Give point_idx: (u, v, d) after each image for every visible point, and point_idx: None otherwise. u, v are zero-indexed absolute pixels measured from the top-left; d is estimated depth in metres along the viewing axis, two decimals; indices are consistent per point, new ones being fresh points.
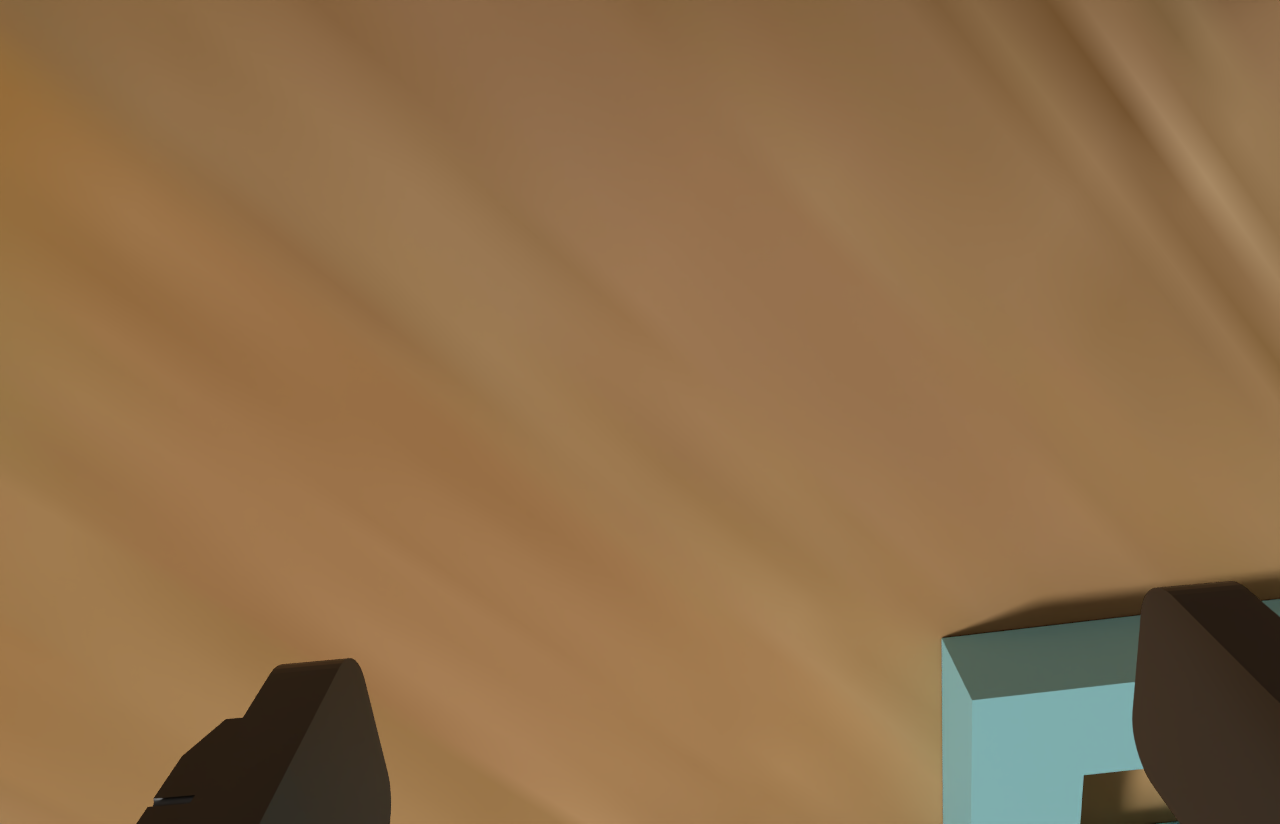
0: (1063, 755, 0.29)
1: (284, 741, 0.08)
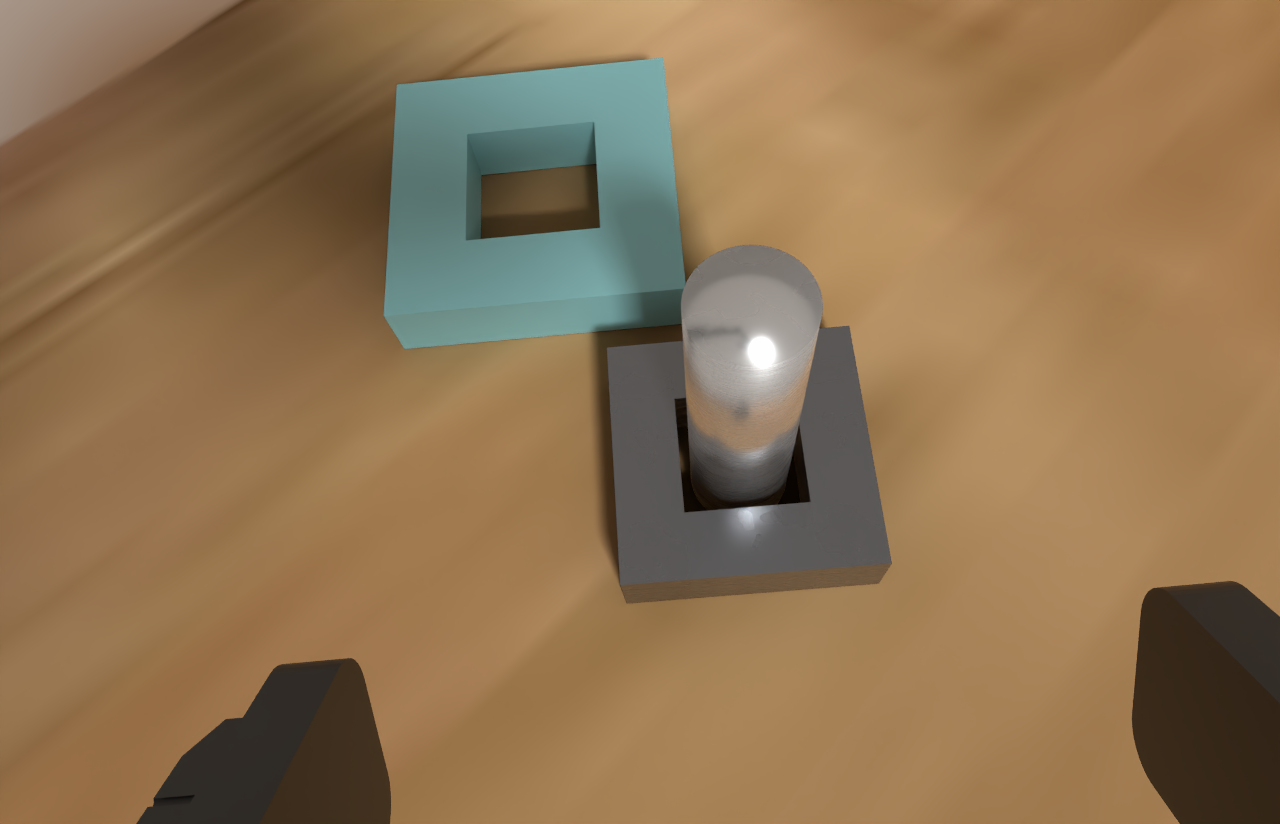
0: (445, 255, 0.41)
1: (284, 741, 0.08)
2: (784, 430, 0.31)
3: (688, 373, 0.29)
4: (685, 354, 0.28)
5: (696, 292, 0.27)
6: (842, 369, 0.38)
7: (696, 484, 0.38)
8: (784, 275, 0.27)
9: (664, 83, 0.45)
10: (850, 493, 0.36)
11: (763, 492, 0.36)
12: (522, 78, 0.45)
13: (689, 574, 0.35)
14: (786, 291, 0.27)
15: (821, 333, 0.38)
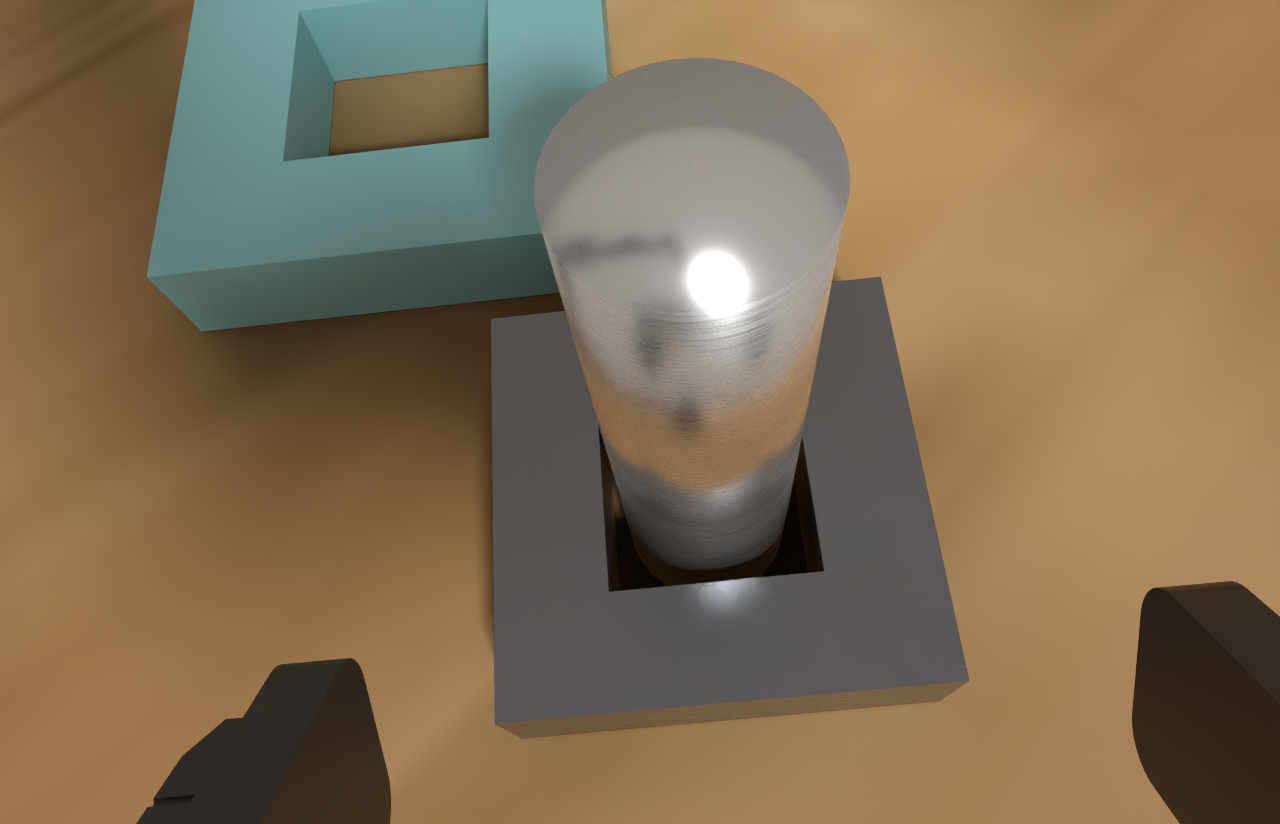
0: (249, 183, 0.27)
1: (284, 741, 0.08)
2: (773, 452, 0.16)
3: (574, 341, 0.14)
4: None
5: (569, 156, 0.12)
6: (871, 346, 0.23)
7: (634, 539, 0.23)
8: (763, 115, 0.12)
9: None
10: (892, 556, 0.21)
11: (743, 554, 0.21)
12: None
13: (615, 703, 0.20)
14: (766, 149, 0.12)
15: (836, 289, 0.24)
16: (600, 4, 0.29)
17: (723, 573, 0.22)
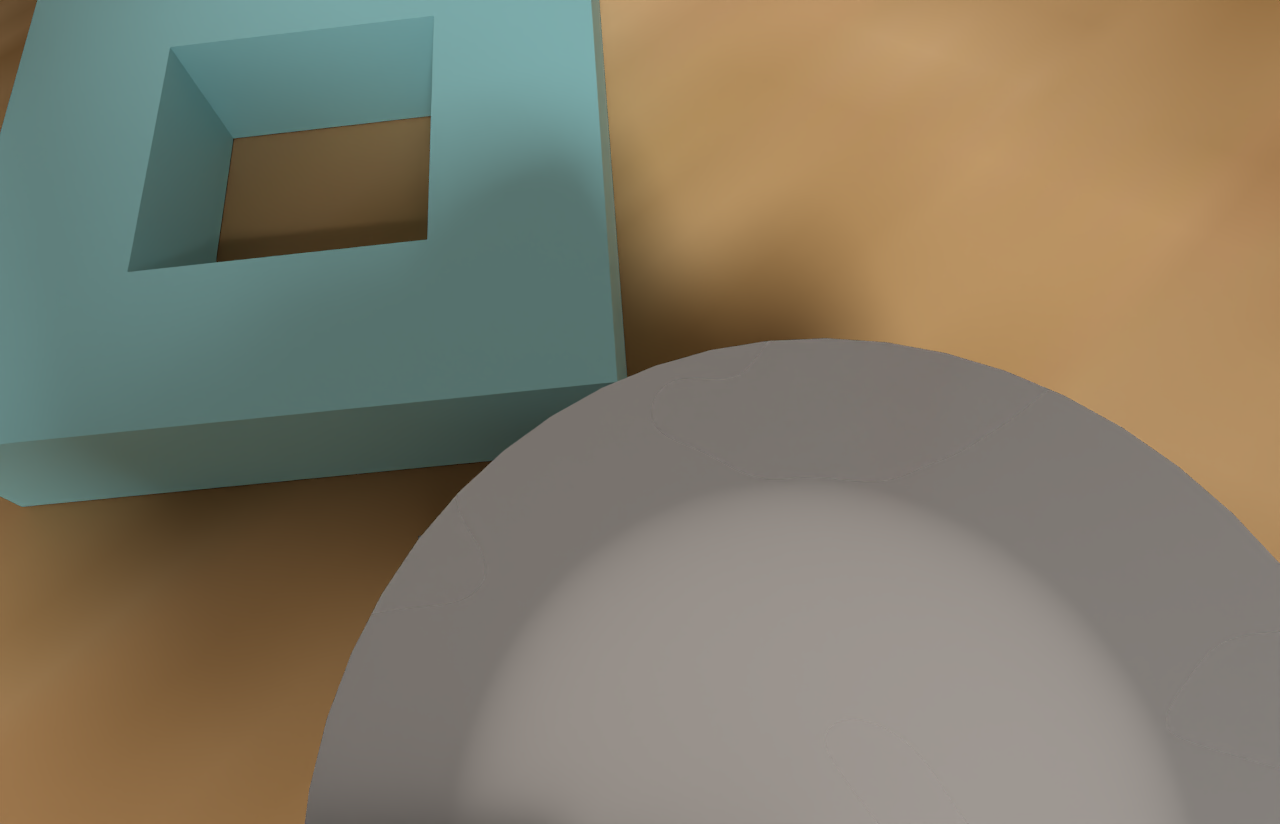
0: (76, 305, 0.18)
1: None
2: None
3: None
4: None
5: (431, 701, 0.04)
6: None
7: None
8: (1069, 568, 0.04)
9: None
10: None
11: None
12: None
13: None
14: (1103, 713, 0.03)
15: None
16: (592, 40, 0.20)
17: None
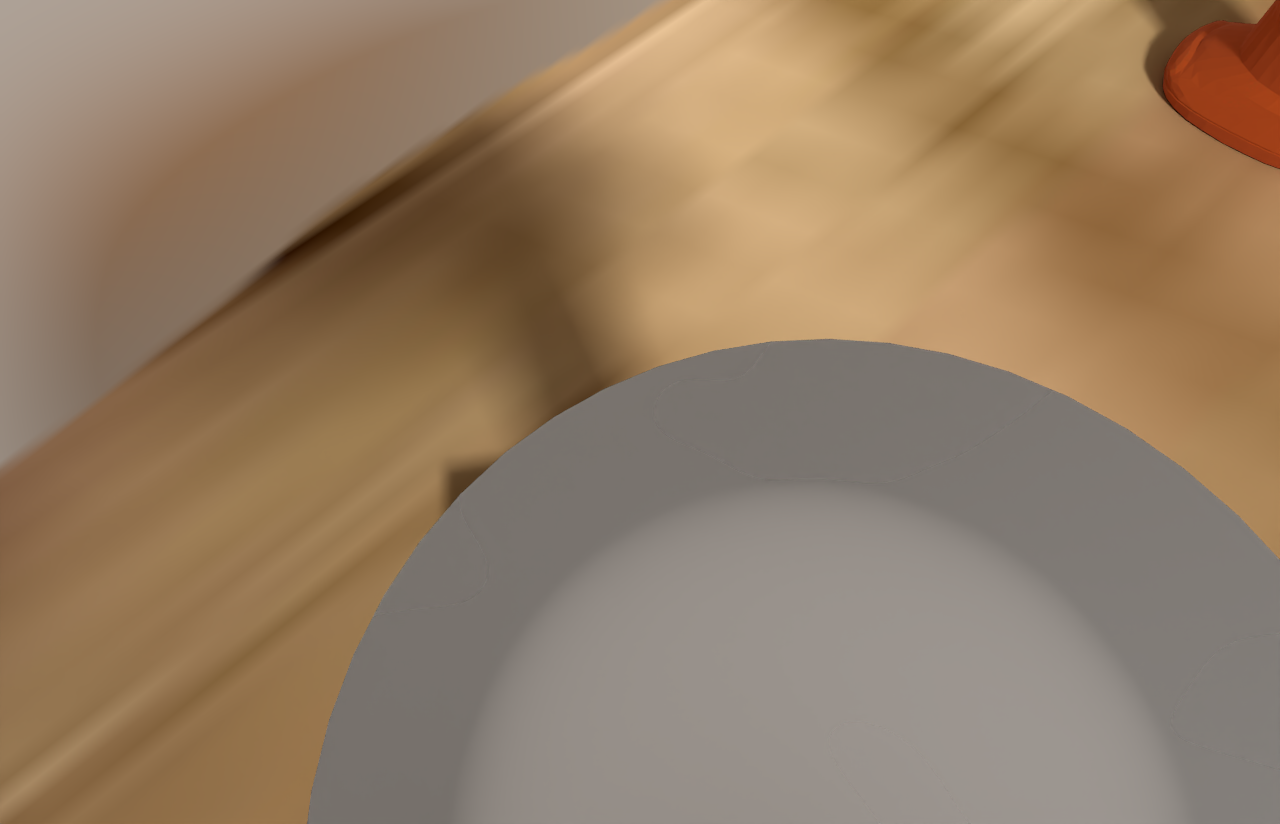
0: None
1: None
2: None
3: None
4: None
5: (433, 703, 0.04)
6: None
7: None
8: (1073, 569, 0.04)
9: None
10: None
11: None
12: None
13: None
14: (1107, 714, 0.03)
15: None
16: None
17: None
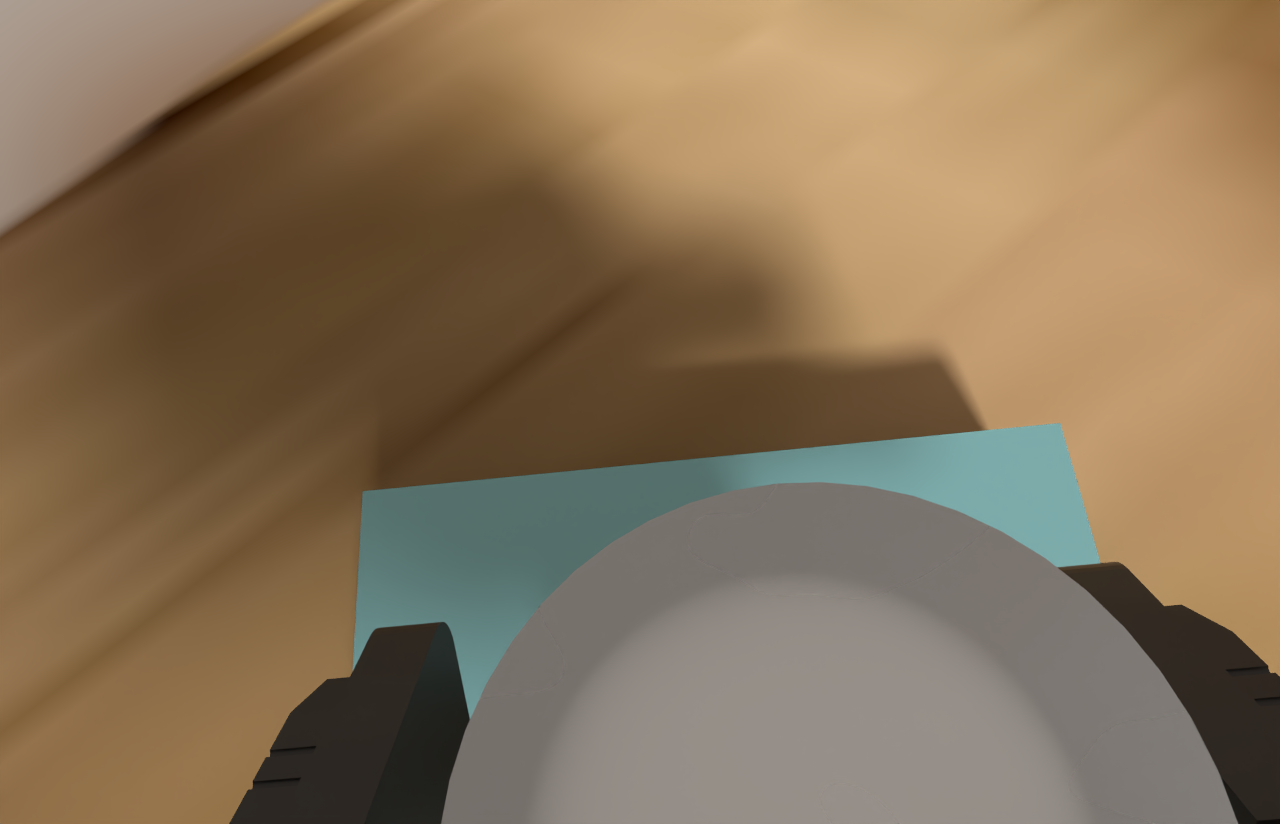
0: None
1: (395, 695, 0.09)
2: None
3: None
4: None
5: (527, 768, 0.05)
6: None
7: None
8: (1002, 668, 0.05)
9: (1080, 506, 0.17)
10: None
11: None
12: (689, 479, 0.17)
13: None
14: (1022, 780, 0.05)
15: None
16: None
17: None
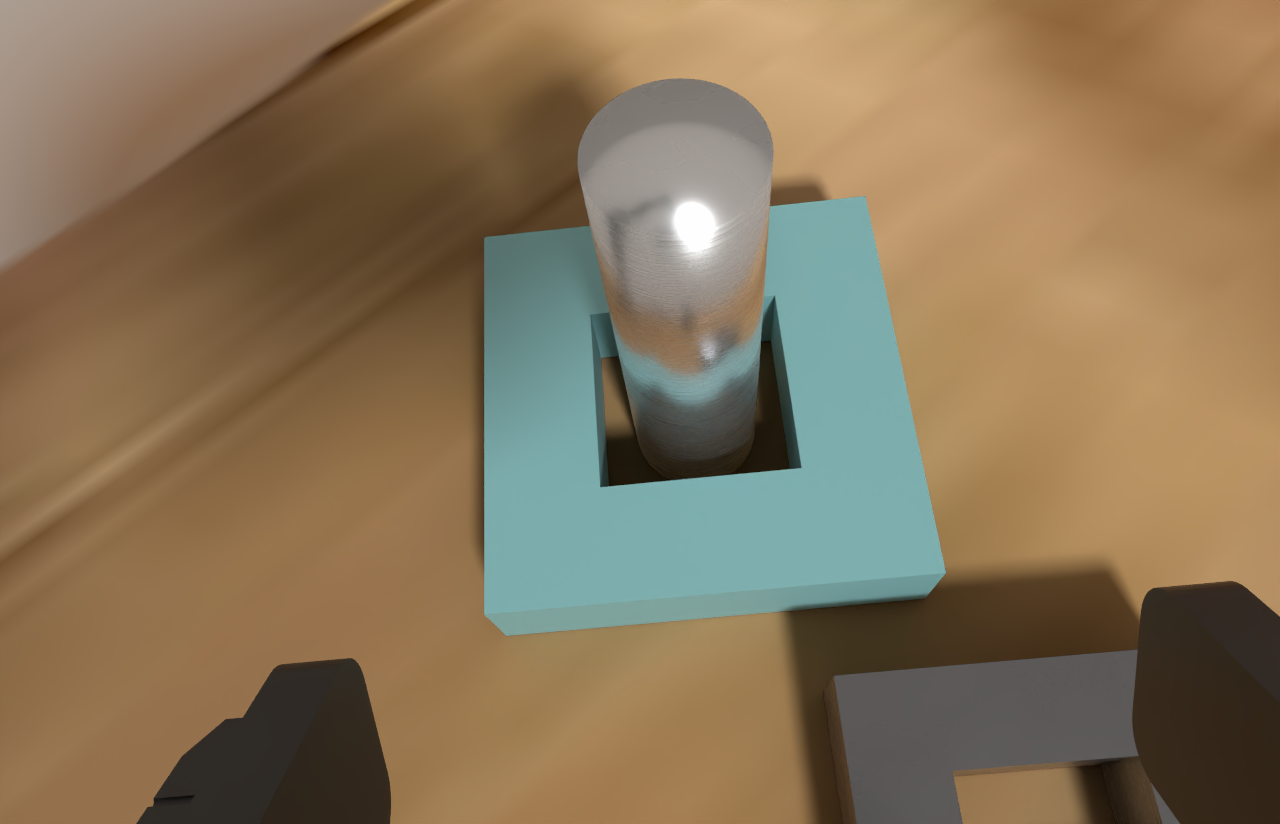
0: (571, 511, 0.28)
1: (285, 741, 0.08)
2: (736, 348, 0.23)
3: (600, 265, 0.22)
4: (592, 235, 0.21)
5: (599, 140, 0.19)
6: None
7: (640, 437, 0.30)
8: (721, 115, 0.19)
9: (871, 235, 0.31)
10: None
11: (720, 441, 0.28)
12: None
13: None
14: (723, 136, 0.19)
15: None
16: (890, 318, 0.30)
17: (706, 459, 0.29)
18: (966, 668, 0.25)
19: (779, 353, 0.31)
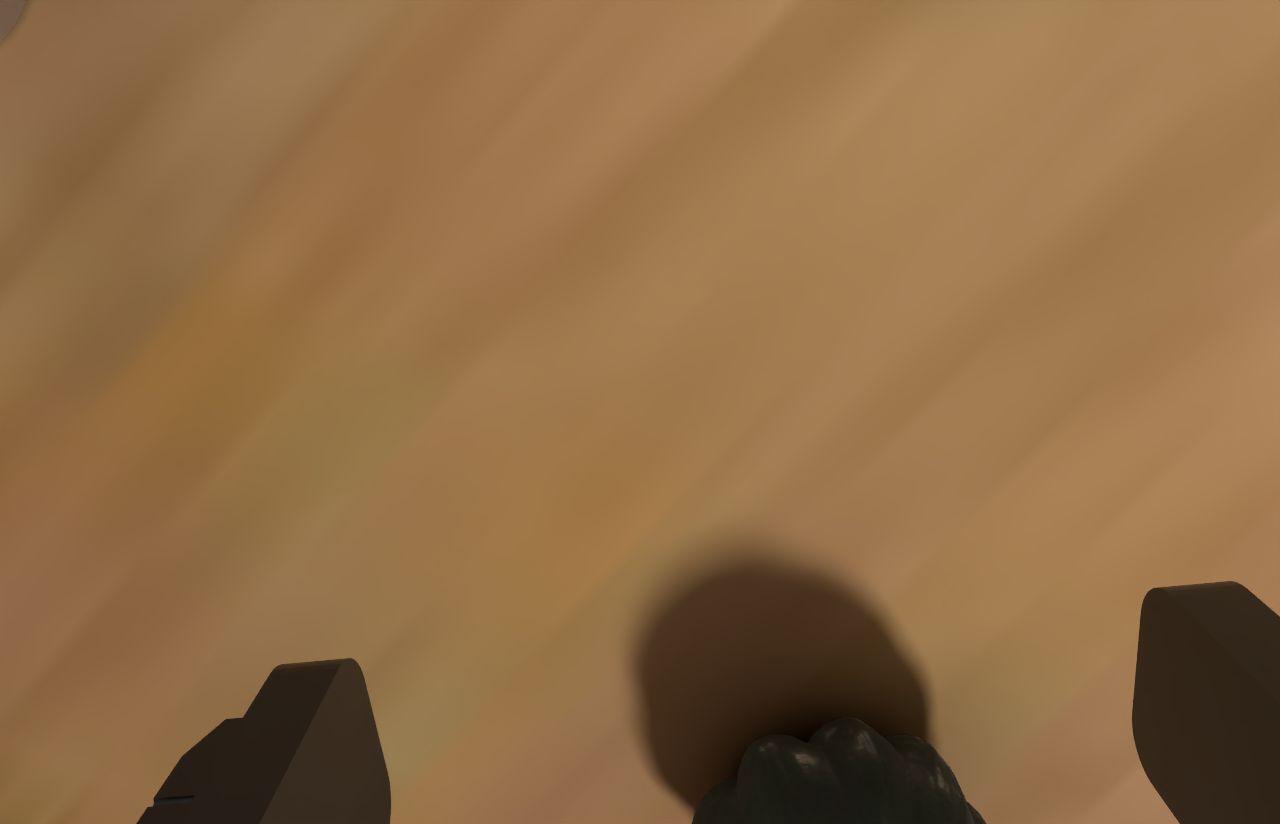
0: None
1: (284, 741, 0.08)
2: None
3: None
4: None
5: None
6: None
7: None
8: None
9: None
10: None
11: None
12: None
13: None
14: None
15: None
16: None
17: None
18: None
19: None
